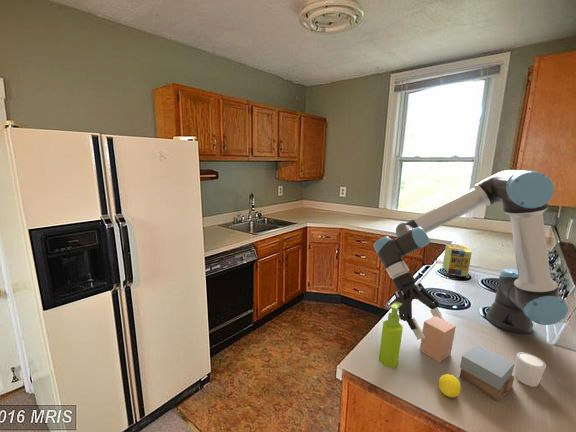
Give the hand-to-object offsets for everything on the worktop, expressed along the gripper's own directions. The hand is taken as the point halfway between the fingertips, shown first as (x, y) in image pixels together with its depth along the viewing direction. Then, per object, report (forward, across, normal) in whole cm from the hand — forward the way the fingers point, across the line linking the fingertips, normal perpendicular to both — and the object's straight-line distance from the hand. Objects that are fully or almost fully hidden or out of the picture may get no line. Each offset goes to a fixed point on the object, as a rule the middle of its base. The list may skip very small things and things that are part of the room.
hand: (433, 332), depth 95 cm
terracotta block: (+6, -1, -4) cm, 7 cm away
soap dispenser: (+2, +17, -8) cm, 19 cm away
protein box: (-20, -84, -30) cm, 91 cm away
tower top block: (+14, -1, +9) cm, 17 cm away
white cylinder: (+21, -14, +11) cm, 28 cm away
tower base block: (+17, -1, +7) cm, 18 cm away
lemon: (+14, +13, +4) cm, 20 cm away
